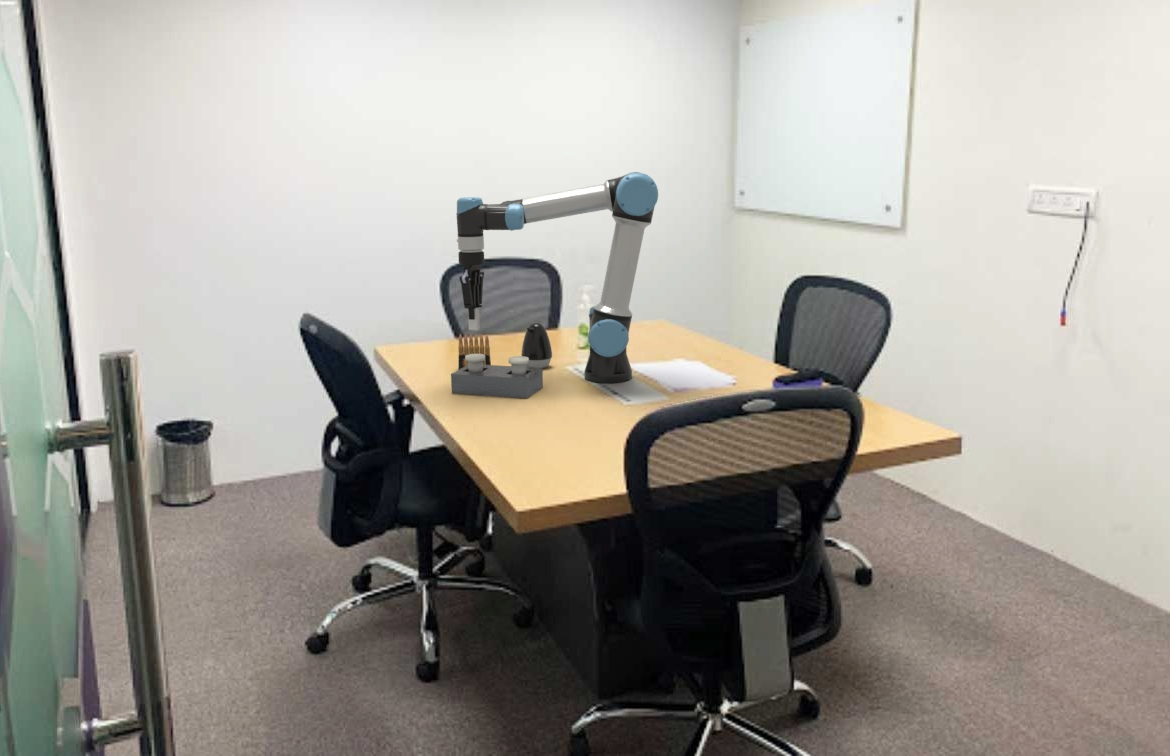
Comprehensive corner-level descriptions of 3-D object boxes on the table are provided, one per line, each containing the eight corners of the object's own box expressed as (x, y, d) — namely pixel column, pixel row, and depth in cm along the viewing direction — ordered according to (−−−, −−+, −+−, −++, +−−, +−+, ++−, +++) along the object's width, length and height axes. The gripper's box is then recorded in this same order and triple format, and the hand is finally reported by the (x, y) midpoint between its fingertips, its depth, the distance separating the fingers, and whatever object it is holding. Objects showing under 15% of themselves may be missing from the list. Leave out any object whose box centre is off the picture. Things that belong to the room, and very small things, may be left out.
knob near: (532, 379, 283) (531, 356, 281) (525, 384, 277) (524, 361, 276) (513, 378, 285) (512, 355, 283) (506, 382, 279) (505, 359, 277)
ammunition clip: (458, 370, 311) (456, 334, 308) (459, 368, 313) (458, 333, 310) (490, 370, 310) (489, 334, 307) (491, 369, 312) (490, 333, 309)
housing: (542, 387, 287) (542, 368, 285) (526, 398, 274) (526, 378, 272) (470, 382, 294) (469, 363, 292) (451, 393, 281) (450, 373, 279)
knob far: (489, 376, 287) (488, 354, 285) (481, 381, 281) (480, 358, 280) (471, 375, 289) (470, 353, 287) (462, 380, 283) (462, 357, 281)
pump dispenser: (515, 369, 311) (514, 324, 307) (531, 362, 320) (530, 319, 316) (542, 372, 306) (541, 326, 303) (557, 365, 315) (557, 321, 312)
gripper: (468, 248, 283) (471, 325, 289) (449, 252, 271) (453, 333, 276) (491, 248, 281) (494, 326, 287) (473, 253, 269) (476, 334, 274)
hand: (474, 329), depth 281 cm, fingers closed
